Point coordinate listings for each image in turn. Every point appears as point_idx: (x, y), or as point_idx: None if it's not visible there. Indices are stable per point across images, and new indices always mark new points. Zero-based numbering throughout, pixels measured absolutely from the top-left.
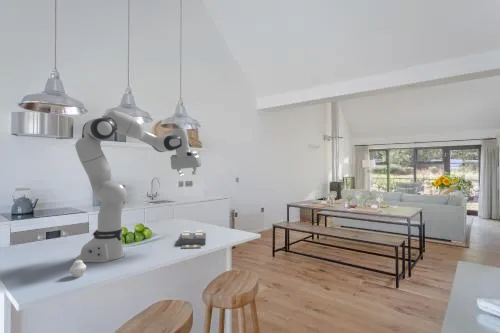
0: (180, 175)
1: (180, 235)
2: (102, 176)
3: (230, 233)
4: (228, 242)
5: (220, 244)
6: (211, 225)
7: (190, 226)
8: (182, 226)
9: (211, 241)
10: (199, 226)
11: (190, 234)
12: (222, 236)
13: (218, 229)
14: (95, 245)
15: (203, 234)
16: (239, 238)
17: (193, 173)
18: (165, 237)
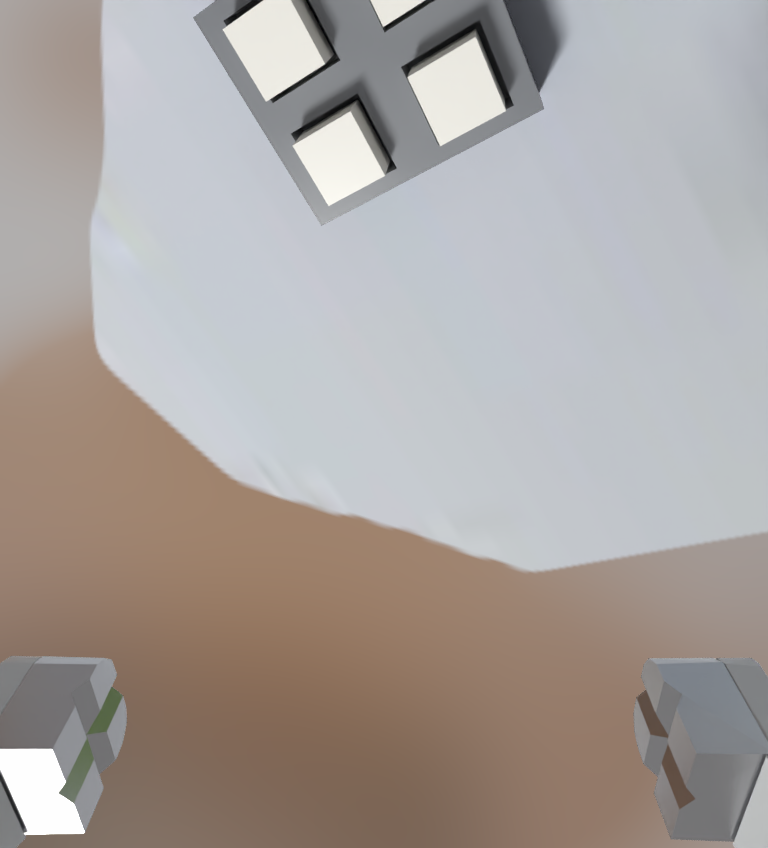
0: (718, 661)
1: (502, 20)
2: None
3: (260, 412)
4: (105, 175)
5: (115, 88)
6: (511, 560)
7: (660, 507)
8: (730, 493)
9: (243, 150)
10: (587, 521)
11: None
12: (260, 322)
13: (403, 483)
14: None
15: None
16: (116, 311)
17: (23, 686)
18: (740, 113)
